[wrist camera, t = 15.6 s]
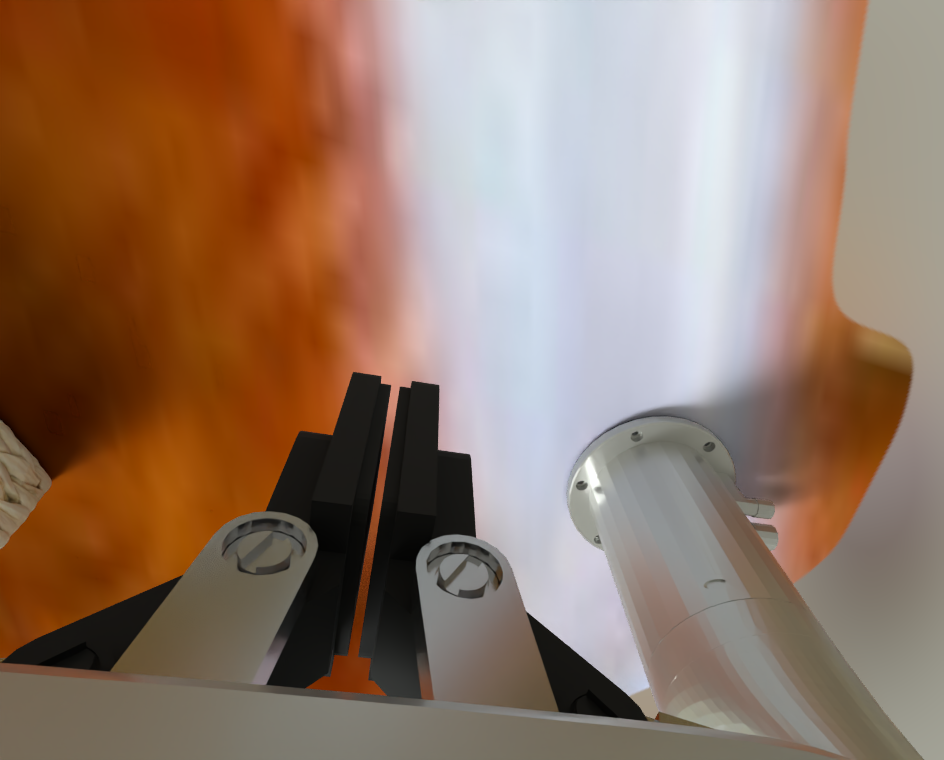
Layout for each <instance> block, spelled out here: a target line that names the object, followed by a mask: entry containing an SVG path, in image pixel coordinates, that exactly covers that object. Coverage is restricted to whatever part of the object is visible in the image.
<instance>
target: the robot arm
mask: <svg viewBox="0 0 944 760" xmlns="http://www.w3.org/2000/svg"><path fill="white" fill-rule="evenodd" d="M390 390H391V385H387V384H381V376H376V375H370V374H363V373H356V372H353V374H352V377H351V380H350V383H349V387H348V390H347V393H346V396H345V399H344V402H343V405H342V408H341V411H340V414H339V418H338V421H337V424H336V427H335V430H334V433H333V435H327V434H320V433H313V432H306V431H300V432H299V434H298V436H297V438H296V440H295V442H294V445H293V447H292V450H291V452H290V454H289V457H288V459H287V461H286V464H285V466H284V469H283V471H282V473H281V476H280V478H279V480H278V483H277V485H276V488H275V490H274V492H273V495H272V497H271V499H270V502H269V504H268V506H267V509H266V511H265V512H256V513H251V514H247V515H244V516H240V517H238V518H236V519H234V520H232V521H230V522H228V523H226V524H225V525H224V526H223V527H222V528H221V529H219V530H218V531H217V532H216V533H215V534H214V536H213V537H212V538H211V540H210V541H209V542H208V544H207V545H206V546H205V548H204V549H203V550H202V551H201V553H200V554H199V555H198V557H197V558H196V559H195V561H194V562H193V563H192V565H191V566H190V567H189V568H188V570H187V571H186V572H185V574H184V575H182V576H180V577H177V578H175V579H173V580H170V581H168V582H166V583H163V584H161V585H159V586H156V587H154V588H152V589H150V590H147V591H145V592H143V593H140V594H138V595H136V596H133V597H131V598H129V599H127V600H124V601H122V602H120V603H117V604H115V605H113V606H110V607H108V608H106V609H103V610H101V611H99V612H97V613H94V614H92V615H90V616H87V617H85V618H83V619H80V620H78V621H76V622H74V623H71V624H69V625H67V626H64V627H62V628H60V629H57V630H55V631H53V632H50V633H48V634H46V635H44V636H41V637H39V638H37V639H35V640H33V641H31V642H30V643H28V644H26V645H24V646H22V647H20V648H19V649H17V650H16V651H14V652H13V653H12V654H11V655H10V656H8V657H7V658H2V659H0V760H924V759H923V758H922V757H921V756H920V754H919V753H918V752H917V751H916V750H915V748H914V747H913V746H912V745H911V744H910V743H909V741H908V740H907V739H906V738H905V736H904V735H903V734H902V733H901V732H900V730H899V729H898V728H897V727H896V726H895V725H894V723H893V722H892V721H891V720H890V719H889V717H888V716H887V715H886V714H885V712H884V711H883V710H882V708H881V707H880V706H879V704H878V703H877V702H876V700H875V699H874V698H873V696H872V695H871V693H870V692H869V691H868V689H867V688H866V687H865V685H864V684H863V683H862V681H861V680H860V679H859V677H858V676H857V674H856V673H855V672H854V670H853V669H852V668H851V666H850V665H849V664H848V662H847V661H846V660H845V658H844V657H843V655H842V654H841V653H840V651H839V650H838V648H837V647H836V645H835V644H834V643H833V641H832V640H831V638H830V637H829V635H828V634H827V632H826V631H825V630H824V628H823V627H822V625H821V624H820V622H819V621H818V620H817V618H816V617H815V616H814V614H813V613H812V611H811V610H810V608H809V607H808V605H807V604H806V603H805V601H804V600H803V598H802V597H801V595H800V594H799V592H798V591H797V589H796V588H795V587H794V585H793V584H792V582H791V581H790V579H789V578H788V576H787V575H786V573H785V572H784V571H783V569H782V568H781V566H780V565H779V563H778V562H777V560H776V559H775V558H774V556H773V555H772V553H771V552H770V551H772V550H774V549H775V548H776V546H777V543H778V533H777V531H776V528H775V527H773V526H772V525H767V524H759V523H752V522H750V521H749V520H748V518H747V517H746V516H745V515H748V516H752V517H756V518H764V519H771V518H772V517H773V515H774V512H775V508H774V504H773V502H772V501H770V500H764V499H757V498H752V499H750V498H745V497H744V495H743V494H741V492H740V491H739V490H738V488H737V487H736V485H735V481H736V474H735V468H734V463H733V461H732V459H731V457H730V454H729V452H728V451H727V449H726V448H725V447H724V445H723V444H722V442H721V441H720V440H719V439H718V438H717V437H716V436H715V435H714V434H713V433H712V432H711V431H709V430H708V429H706V428H705V427H703V426H701V425H700V424H698V423H695V422H692V421H689V420H686V419H683V418H676V417H670V416H659V417H647V418H642V419H637V420H633V421H630V422H627V423H625V424H622V425H619V426H617V427H615V428H613V429H612V430H610V431H608V432H606V433H604V434H603V435H602V436H600V437H599V438H598V439H597V440H595V441H594V442H593V443H591V444H590V446H589V447H588V448H587V449H586V450H585V451H584V452H583V453H582V454H581V456H580V457H579V459H578V460H577V462H576V464H575V465H574V467H573V469H572V472H571V474H570V477H569V480H568V486H567V493H566V494H567V505H568V509H569V512H570V516H571V519H572V521H573V523H574V525H575V527H576V529H577V530H578V531H579V533H580V534H581V535H582V536H583V537H584V539H586V540H587V541H588V542H589V543H590V544H592V545H593V546H595V547H597V548H599V549H601V550H603V551H604V552H605V555H606V558H607V561H608V564H609V567H610V570H611V573H612V576H613V579H614V582H615V585H616V588H617V591H618V594H619V596H620V599H621V602H622V605H623V608H624V611H625V614H626V617H627V620H628V623H629V626H630V629H631V632H632V635H633V638H634V641H635V644H636V647H637V650H638V653H639V656H640V658H641V661H642V664H643V667H644V670H645V673H646V676H647V679H648V682H649V685H650V688H651V691H652V694H653V697H654V700H655V703H656V705H657V708H658V710H659V713H658V714H657V716H656V718H655V719H652V718H649V717H646V716H645V715H644V714H643V712H642V710H641V709H640V707H639V706H638V705H637V704H636V703H635V702H634V701H633V700H632V699H631V698H630V697H629V696H628V695H627V694H626V693H625V692H623V691H622V690H621V689H620V688H619V687H617V686H616V685H615V684H614V683H613V682H611V681H610V680H609V679H608V678H606V677H605V676H604V675H603V674H602V673H600V672H599V671H598V670H597V669H596V668H594V667H593V666H592V665H591V664H589V663H588V662H587V661H586V660H585V659H583V658H582V657H581V656H580V655H579V654H577V653H576V652H575V651H574V650H572V649H571V648H570V647H569V646H568V645H566V644H565V643H564V642H563V641H561V640H560V639H559V638H558V637H557V636H555V635H554V634H553V633H552V632H551V631H549V630H548V629H547V628H546V627H544V626H543V625H542V624H541V623H540V622H538V621H537V620H536V619H535V618H534V617H532V616H531V615H530V614H529V613H527V612H526V610H525V607H524V604H523V601H522V598H521V595H520V592H519V589H518V586H517V583H516V580H515V577H514V574H513V570H512V568H511V566H510V564H509V562H508V560H507V559H506V557H505V556H504V555H503V554H502V553H501V552H500V551H499V550H498V549H497V548H495V547H494V546H492V545H490V544H489V543H487V542H485V541H483V540H480V539H477V538H476V529H475V514H474V498H473V483H472V468H471V457H470V455H469V454H463V453H456V452H448V451H441V450H438V422H439V385H435V384H428V383H422V382H415V381H412V383H411V388H407V387H400V390H399V396H398V403H397V409H396V416H395V422H394V428H393V435H392V441H391V448H390V454H389V461H388V467H387V473H386V480H385V486H384V493H383V499H382V506H381V512H380V519H379V525H378V532H377V538H376V545H375V551H374V558H373V564H372V571H371V577H370V584H369V590H368V597H367V603H366V610H365V616H364V623H363V629H362V636H361V642H360V649H359V655H358V657H364V658H371V664H370V671H369V679H368V680H372V681H375V683H376V684H377V685H378V686H379V687H380V688H381V689H382V690H383V691H384V692H385V694H386V695H387V696H381V695H370V694H359V693H348V692H337V691H326V690H315V689H305V688H306V687H308V686H309V685H311V684H312V683H314V682H315V681H317V680H318V679H320V678H321V677H323V676H329V677H330V675H331V670H332V665H333V660H334V655H343V656H347V655H348V650H349V644H350V638H351V632H352V626H353V621H354V615H355V609H356V603H357V598H358V592H359V586H360V580H361V574H362V569H363V563H364V557H365V551H366V545H367V540H368V534H369V528H370V522H371V516H372V511H373V504H374V498H375V491H376V484H377V478H378V471H379V464H380V457H381V451H382V444H383V437H384V430H385V424H386V417H387V410H388V403H389V397H390Z"/></svg>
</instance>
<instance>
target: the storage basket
mask: <svg viewBox="0 0 944 760" xmlns="http://www.w3.org/2000/svg"><path fill="white" fill-rule="evenodd" d="M51 484H52V481H51V479H50V477H49V476H48V474H47V473H46V472H45V470H44V469H43V468H42V467H41V466H40V464H39V462H38V460H37V459H36V458H35V457H34V456H33V455H32V454H31V453H30V452H29V451H28V450H27V448H26V447H25V446H24V445H23V444H22V443H21V442H20V441H19V440H18V439H17V438H16V437H15V436H14V434H13V432H12V430H11V429H10V428H9V427H8V426H7V425H5V424H4V423H3V422H2V420H0V549H1V548H2V547H3V546H4V545H5V544H6V543H7V542H8V541H9V538H10V536H11V535H12V534H13V533H14V532H15V531H16V530H17V529H18V528H19V526H20V525H21V524H22V523H24V522H25V521H26V519H27V517H28V516H29V513H30V512H31V511H33V510H34V508H35V507H36V504H37V502H38V501H39V500H40V499H41V498H42V496H43V495H44V493H46V492H47V491H48V489H49V488H50V487H51Z"/></svg>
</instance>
